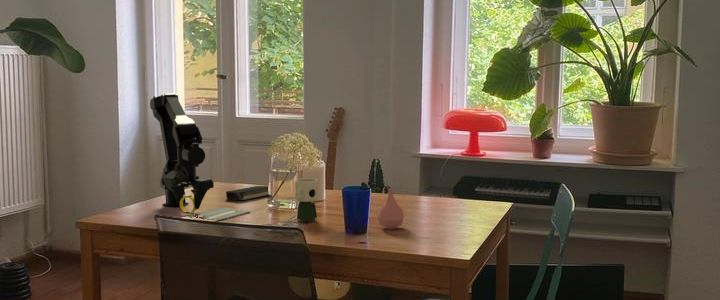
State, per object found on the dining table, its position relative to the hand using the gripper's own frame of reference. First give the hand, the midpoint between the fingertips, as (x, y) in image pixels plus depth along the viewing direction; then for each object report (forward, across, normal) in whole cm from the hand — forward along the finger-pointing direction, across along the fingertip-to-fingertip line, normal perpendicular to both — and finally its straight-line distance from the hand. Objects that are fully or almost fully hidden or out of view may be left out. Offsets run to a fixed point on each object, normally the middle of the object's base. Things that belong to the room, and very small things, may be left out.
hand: (188, 208), depth 249 cm
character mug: (+2, +40, +12) cm, 42 cm away
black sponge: (+2, -1, +30) cm, 30 cm away
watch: (+2, 0, 0) cm, 2 cm away
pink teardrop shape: (+2, +67, +18) cm, 69 cm away
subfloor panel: (+2, +10, 0) cm, 11 cm away
